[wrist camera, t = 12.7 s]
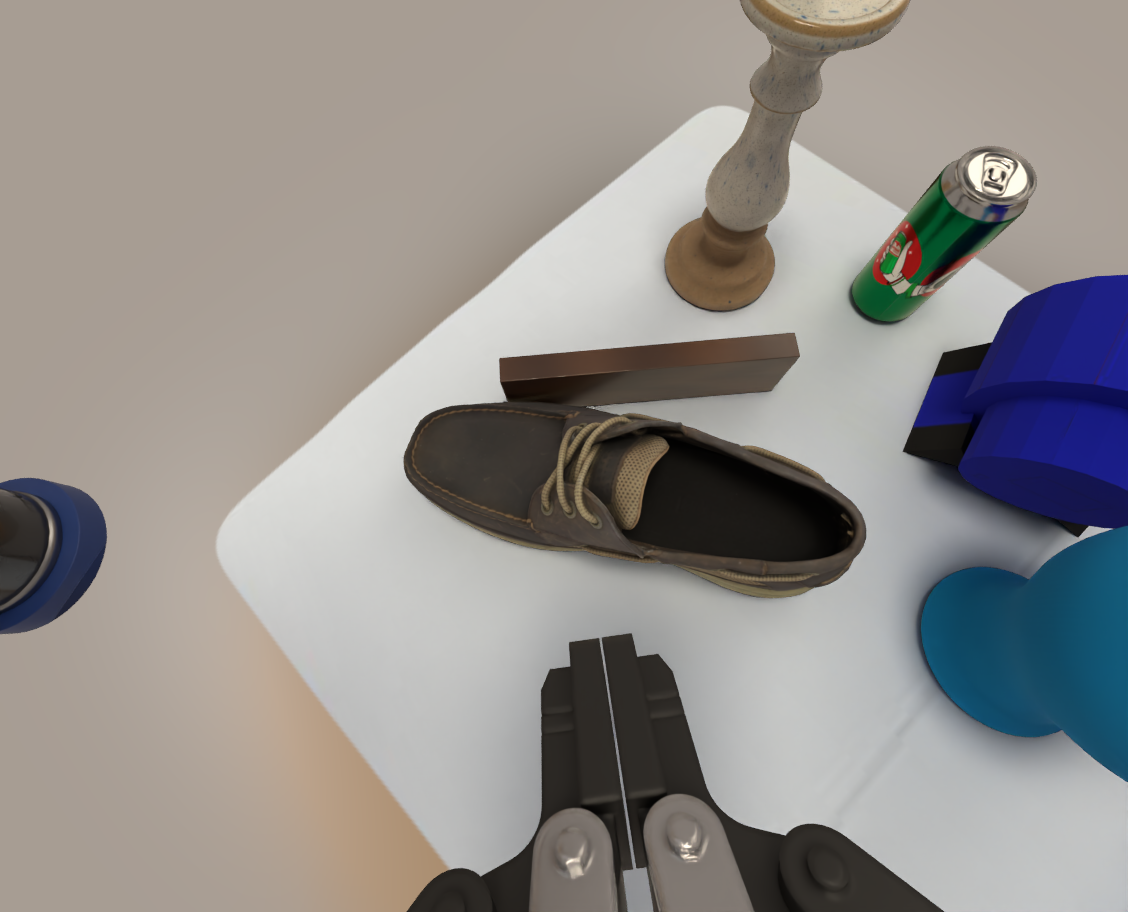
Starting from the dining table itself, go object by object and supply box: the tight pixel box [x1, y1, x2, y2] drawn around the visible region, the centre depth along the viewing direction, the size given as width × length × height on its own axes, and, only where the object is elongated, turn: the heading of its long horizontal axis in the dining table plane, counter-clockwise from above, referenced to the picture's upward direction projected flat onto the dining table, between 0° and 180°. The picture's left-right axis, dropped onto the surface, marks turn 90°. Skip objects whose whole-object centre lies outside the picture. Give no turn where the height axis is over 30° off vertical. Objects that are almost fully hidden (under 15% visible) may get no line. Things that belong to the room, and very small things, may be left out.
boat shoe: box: [404, 402, 866, 598], centre depth 31 cm, size 11×29×11 cm, turn 79°
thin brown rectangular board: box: [499, 333, 800, 407], centre depth 36 cm, size 20×2×6 cm, turn 94°
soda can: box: [852, 146, 1037, 321], centre depth 35 cm, size 5×5×12 cm
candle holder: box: [665, 0, 910, 311], centre depth 32 cm, size 9×9×20 cm
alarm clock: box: [903, 275, 1128, 537], centre depth 29 cm, size 12×12×15 cm
